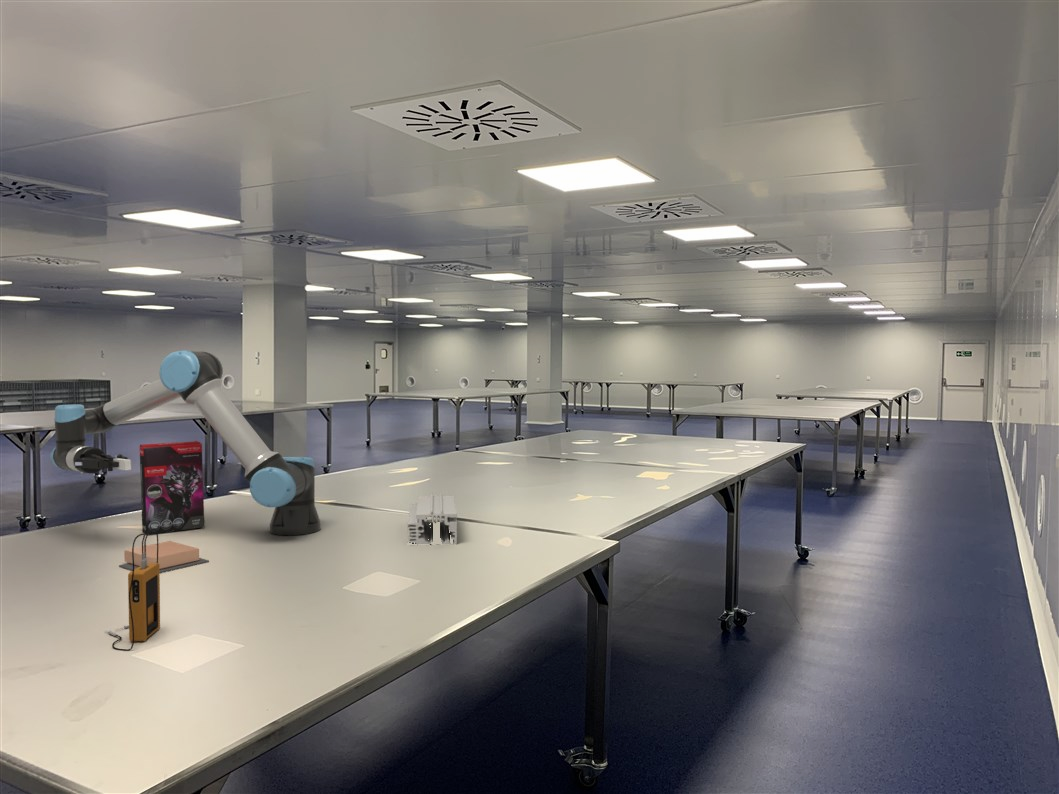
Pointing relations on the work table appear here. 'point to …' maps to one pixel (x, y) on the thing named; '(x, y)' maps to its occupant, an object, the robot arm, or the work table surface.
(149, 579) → the multimeter
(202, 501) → the graphics card box
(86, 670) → the work table surface
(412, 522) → the aluminum extrusion profile
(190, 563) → the mat
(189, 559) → the tile
